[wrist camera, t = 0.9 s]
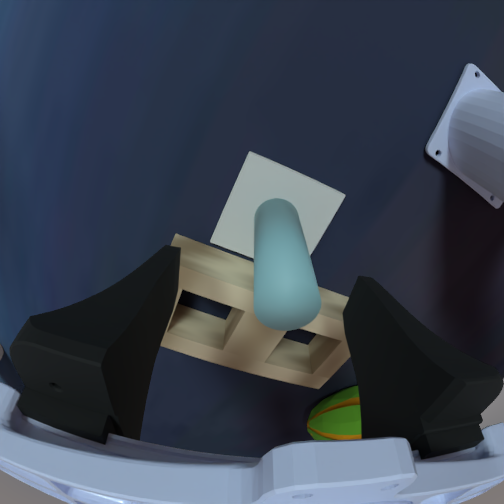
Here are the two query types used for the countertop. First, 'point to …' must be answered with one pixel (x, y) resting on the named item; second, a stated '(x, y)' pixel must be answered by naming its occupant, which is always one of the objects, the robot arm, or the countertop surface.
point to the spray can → (1, 352)
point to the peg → (282, 269)
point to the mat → (269, 187)
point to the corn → (337, 417)
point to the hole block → (250, 323)
